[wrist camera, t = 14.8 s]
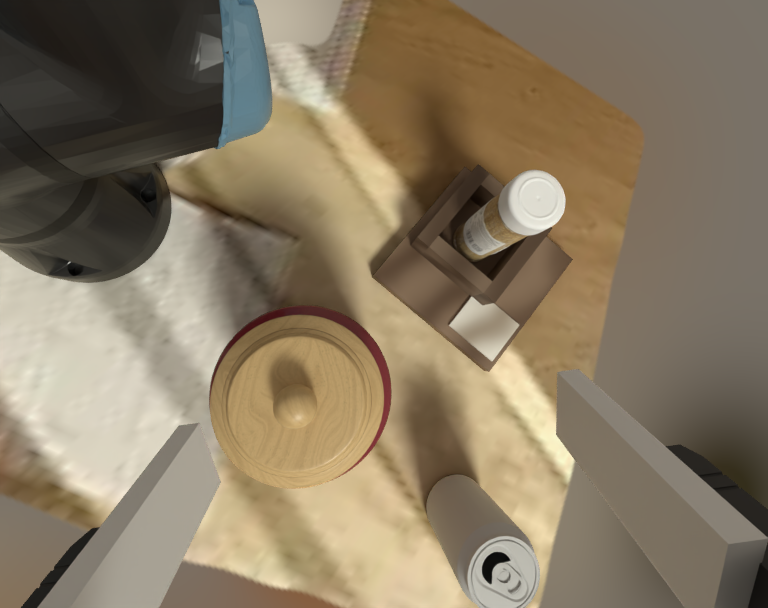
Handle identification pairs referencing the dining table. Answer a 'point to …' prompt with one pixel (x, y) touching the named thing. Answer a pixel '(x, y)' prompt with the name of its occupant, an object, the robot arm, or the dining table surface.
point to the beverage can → (482, 545)
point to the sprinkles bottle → (511, 215)
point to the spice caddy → (471, 274)
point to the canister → (299, 396)
